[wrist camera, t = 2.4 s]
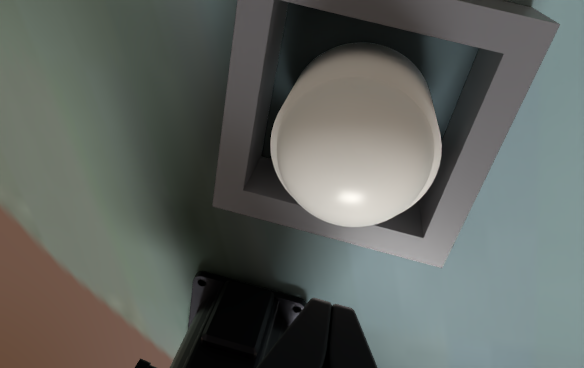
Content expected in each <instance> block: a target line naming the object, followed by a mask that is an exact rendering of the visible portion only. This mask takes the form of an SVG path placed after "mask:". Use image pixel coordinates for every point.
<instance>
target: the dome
mask: <svg viewBox="0 0 584 368" xmlns="http://www.w3.org/2000/svg"><path fill="white" fill-rule="evenodd" d="M270 144H271V157H272V162H273V165H274V169H275V171H276V174H277V176H278V178H279V180H280V182H281V183H282V185H283V186H284V188H285V189H286V190H287V192H288V193H289V194H290V195H291V196H292V197H293V198H294V199H295V200H296V202H297V203H298V204H299V205H300V206H301V207H302V208H304V209H305V210H306V211H308V212H309V213H310V214H312V215H314V216H315V217H317V218H319V219H321V220H323V221H325V222H328V223H331V224H334V225H339V226H345V227H364V226H371V225H375V224H379V223H381V222H384V221H387V220H389V219H391V218H393V217H395V216H396V215H398V214H400V213H402V212H404V211H405V210H407V209H408V208H410V207H411V206H413V205H414V204H415V203H416V202H417V201H418V200H420V198H421V197H422V196H423V195H424V194H425V193H426V192H427V190H428V189H429V187H430V186H431V184H432V183H433V181H434V179H435V177H436V175H437V172H438V169H439V166H440V160H441V152H442V143H441V135H440V131H439V126H438V122H437V118H436V114H435V110H434V106H433V102H432V98H431V94H430V90H429V87H428V85H427V83H426V80H425V78H424V77H423V75H422V74H421V72H420V71H419V69H418V68H417V67H416V66H415V65H414V64H413V63H412V62H411V61H410V60H409V59H408V58H407V57H405V56H404V55H402V54H401V53H399V52H398V51H395V50H393V49H391V48H389V47H386V46H383V45H380V44H374V43H365V42H357V43H348V44H344V45H340V46H337V47H334V48H332V49H329V50H327V51H326V52H324V53H322V54H320V55H319V56H318V57H316V58H315V59H314V60H313V61H312V62H310V63H309V64H308V65H307V66H306V68H305V69H304V70H303V71H302V73H301V74H300V76H299V78H298V79H297V81H296V83H295V85H294V86H293V88H292V90H291V92H290V93H289V95H288V97H287V99H286V100H285V102H284V104H283V106H282V107H281V109H280V111H279V113H278V115H277V117H276V119H275V122H274V125H273V129H272V133H271V142H270Z"/></svg>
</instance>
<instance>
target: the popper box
mask: <svg viewBox="0 0 584 368" xmlns="http://www.w3.org/2000/svg"><path fill="white" fill-rule="evenodd" d="M289 2H290V3H294V4H298V5H302V6H307V7H311V8H315V9H319V10H323V11H327V12H332V13H336V14H340V15H344V16H348V17H352V18H357V19H361V20H365V21H369V22H373V23H377V24H382V25H386V26H390V27H394V28H398V29H402V30H407V31H411V32H415V33H419V34H423V35H427V36H432V37H436V38H440V39H444V40H448V41H452V42H457V43H461V44H465V45H469V46H473V47H477V48H479V51H478V53H477V56H476V58H475V61H474V63H473V65H472V68H471V70H470V73H469V75H468V78H467V80H466V83H465V85H464V88H463V90H462V93H461V95H460V98H459V100H458V102H457V105H456V107H455V110H454V112H453V115H452V117H451V120H450V122H449V125H448V127H447V130H446V132H445V134H444V137H443V139H442V142H441V143H442V152H441V160H440V166H439V169H438V172H437V175H436V177H435V179H434V181H433V183H432V184H431V186H430V187H429V189H428V190H427V192H426V193H425V194H424V195H423V196H422V197H421V198H420V200H418V201H417V202H416V203H415V204H414V205H413V206H411V207H410V208H408V209H407V210H405V211H404V212H402V213H400V214H398V215H396V216H395V217H393V218H391V219H389V220H387V221H384V222H381V223H379V224H375V225H371V226H364V227H345V226H339V225H334V224H331V223H328V222H325V221H323V220H321V219H319V218H317V217H315V216H314V215H312V214H310V213H309V212H308V211H306V210H305V209H304V208H302V207H301V206H300V205H299V204H298V203H297V202H296V200H295V199H294V198H293V197H292V196H291V195H290V194H289V193H288V192H287V190H286V189H285V188H284V186H283V185H282V183H281V182H280V180H279V178H278V176H277V174H276V171H275V169H274V165H273V162H272V159H269V158H265V157H262V156H261V155H262V149H263V144H264V138H265V132H266V127H267V121H268V116H269V110H270V104H271V99H272V93H273V88H274V82H275V76H276V71H277V65H278V59H279V54H280V48H281V43H282V37H283V31H284V26H285V20H286V15H287V9H288V3H289ZM559 26H560V24H558V23H557V22H555V21H554V20H552V19H550V18H549V17H547V16H545V15H544V14H542V13H540V12H539V11H537V10H535V9H534V8H532V7H528V6H524V5H520V4H515V3H511V2H507V1H503V0H238V1H237V9H236V18H235V26H234V34H233V42H232V50H231V58H230V66H229V75H228V83H227V91H226V99H225V107H224V115H223V124H222V132H221V140H220V148H219V156H218V164H217V172H216V181H215V189H214V197H213V205H212V206H213V207H216V208H220V209H224V210H228V211H231V212H235V213H239V214H242V215H246V216H250V217H254V218H257V219H261V220H265V221H269V222H272V223H276V224H280V225H283V226H287V227H291V228H295V229H298V230H302V231H306V232H310V233H313V234H317V235H321V236H324V237H328V238H332V239H336V240H339V241H343V242H347V243H350V244H354V245H358V246H362V247H365V248H369V249H373V250H377V251H380V252H384V253H388V254H391V255H395V256H399V257H403V258H406V259H410V260H414V261H418V262H421V263H425V264H429V265H432V266H436V267H440V268H442V267H443V265H444V263H445V261H446V259H447V257H448V255H449V253H450V251H451V249H452V246H453V244H454V242H455V240H456V238H457V236H458V234H459V232H460V230H461V228H462V226H463V224H464V222H465V220H466V218H467V216H468V213H469V211H470V209H471V207H472V205H473V203H474V201H475V199H476V197H477V195H478V193H479V191H480V189H481V187H482V185H483V182H484V180H485V178H486V176H487V174H488V172H489V170H490V168H491V166H492V164H493V162H494V160H495V158H496V156H497V154H498V152H499V149H500V147H501V145H502V143H503V141H504V139H505V137H506V135H507V133H508V131H509V129H510V127H511V125H512V123H513V121H514V119H515V116H516V114H517V112H518V110H519V108H520V106H521V104H522V102H523V100H524V98H525V96H526V94H527V92H528V90H529V88H530V85H531V83H532V81H533V79H534V77H535V75H536V73H537V71H538V69H539V67H540V65H541V63H542V61H543V59H544V57H545V55H546V52H547V50H548V48H549V46H550V44H551V42H552V40H553V38H554V36H555V34H556V32H557V30H558V28H559Z"/></svg>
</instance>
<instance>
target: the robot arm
mask: <svg viewBox="0 0 584 368" xmlns="http://www.w3.org/2000/svg"><path fill="white" fill-rule="evenodd" d="M202 280H204V281H205V282H204V281H202ZM295 306H298V307H300V308H297V307H295ZM150 364H151V363H150V362H147V361H145V360H143V359H140V360H139V362H138V363H137V365H136V367H135V368H156V367H154V366H151V365H150ZM170 368H377V365H376V363H375V360H374V358H373V355H372V353H371V350H370V348H369V346H368V343H367V341H366V338H365V336H364V333H363V331H362V328H361V326H360V323H359V321H358V319H357V316H356V314H355V311H354V310H353V309H352V308H349V307H345V306H342V305H338V304H334V305H333V306H332V305H331V303H330V302H327V301H324V300H320V299H317V298H312V299H311V300H310V301H309V302H308V303H307V304H306V302H305V301H304V300H303V299H301V298H298V297H294V296H290V295H287V294H283V293H280V292H276V291H272V290H269V289H265V288H262V287H258V286H254V285H251V284H247V283H244V282H240V281H236V280H233V279H229V278H226V277H222V276H218V275H215V274H211V273H207V272H202V271H201V272H198V273H197V274H196V276H195V278H194V280H193V288H192V298H191V307H190V316H189V326H188V331H187V333H186V335H185V337H184V339H183V341H182V344H181V346H180V348H179V350H178V352H177V354H176V356H175V358H174V360H173V362H172V364H171V366H170Z"/></svg>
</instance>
